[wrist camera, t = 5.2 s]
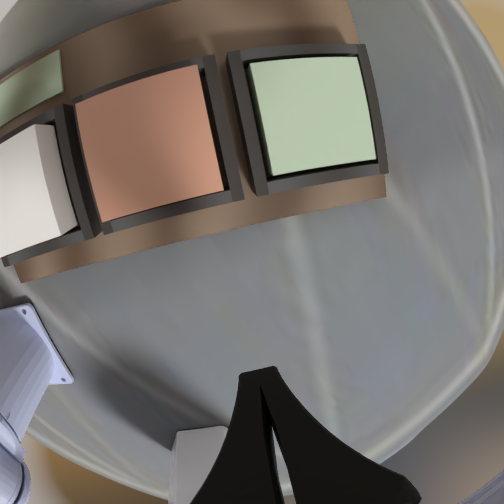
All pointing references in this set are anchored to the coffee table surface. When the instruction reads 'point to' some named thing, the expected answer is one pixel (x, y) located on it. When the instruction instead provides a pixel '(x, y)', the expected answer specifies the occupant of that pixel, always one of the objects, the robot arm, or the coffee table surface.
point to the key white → (32, 190)
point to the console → (218, 110)
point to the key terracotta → (149, 143)
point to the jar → (193, 461)
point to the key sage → (310, 113)
